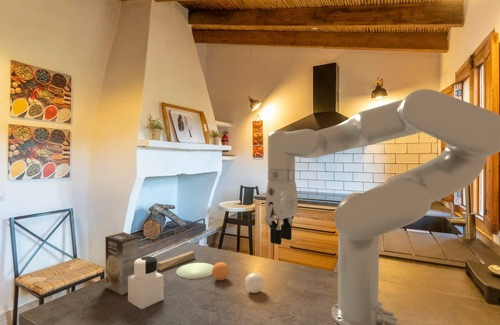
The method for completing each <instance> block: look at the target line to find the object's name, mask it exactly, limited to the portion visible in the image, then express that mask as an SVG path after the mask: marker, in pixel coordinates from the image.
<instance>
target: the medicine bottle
mask: <svg viewBox="0 0 500 325" xmlns="http://www.w3.org/2000/svg"><path fill="white" fill-rule="evenodd" d="M157 262H158V260H157V258H156V257H154V256H152V255H151V256H149V255H148V256H141V257H139V259H137V260H136V261H135V262H134V275H131V276H129V277H128V293H127V301H128V302H129V303H130V304H132V305H133V306H135V307H137V308H138V309H140V310H143V309H146V308H148V307H150V306H152V305H155V304H157V303H159V302H161V301H164V292H165V291H164V290H165V288H164V286H165V285H164V274H161V273H159V272H158V269H157Z"/></svg>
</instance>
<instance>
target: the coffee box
mask: <svg viewBox="0 0 500 325" xmlns="http://www.w3.org/2000/svg"><path fill="white" fill-rule="evenodd" d="M139 258H140V236H139V235H138V236H137V235H133V234H130V233H127V232H125V231H124V232H118V233H115V234H112V235H108V236H105V288H106V289H108V290H111V291H113V292H115V293H117V294H119V295H121V296H123V295H125V294H128V277H129V276H131V275H134V262H135V261H136V260H137V259H139Z"/></svg>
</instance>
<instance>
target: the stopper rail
mask: <svg viewBox="0 0 500 325" xmlns="http://www.w3.org/2000/svg"><path fill="white" fill-rule="evenodd" d="M193 259H196V252H195V251H193V250H190V251H187V252H184V253H181V254H178V255H176V256H173V257H169V258H166V259H164V260H160V261H157V271H165V270H166V269H168V268H169V269H170V268H171V267H174V266H177V265H180V264H183V263H186V262H189V261H191V260H193Z"/></svg>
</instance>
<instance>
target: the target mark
mask: <svg viewBox="0 0 500 325" xmlns="http://www.w3.org/2000/svg"><path fill="white" fill-rule="evenodd" d="M213 267H214V265H213V264H211V263H207V262H194V263H193V262H192V263H188V264H185V265H182V266H180V267H178V268H177V269H176V275H177V276H178V277H180V278H182V279H186V280H187V279H188V280H198V279H203V278H208V277H210V276H213V274H212V269H213Z"/></svg>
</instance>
